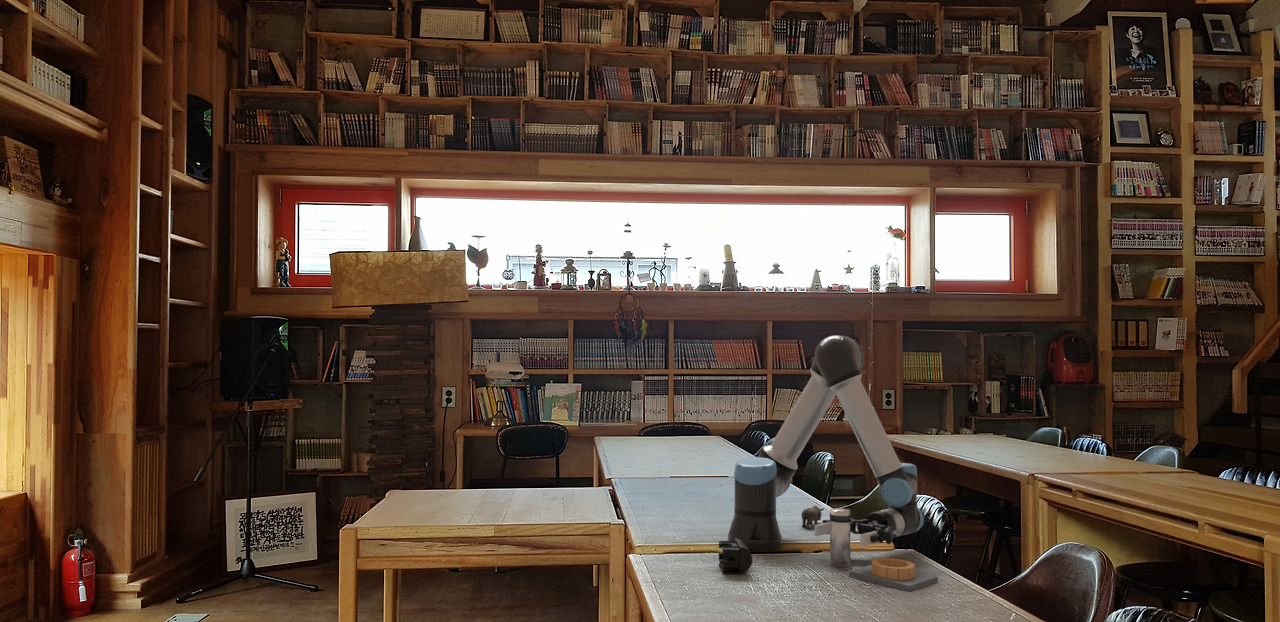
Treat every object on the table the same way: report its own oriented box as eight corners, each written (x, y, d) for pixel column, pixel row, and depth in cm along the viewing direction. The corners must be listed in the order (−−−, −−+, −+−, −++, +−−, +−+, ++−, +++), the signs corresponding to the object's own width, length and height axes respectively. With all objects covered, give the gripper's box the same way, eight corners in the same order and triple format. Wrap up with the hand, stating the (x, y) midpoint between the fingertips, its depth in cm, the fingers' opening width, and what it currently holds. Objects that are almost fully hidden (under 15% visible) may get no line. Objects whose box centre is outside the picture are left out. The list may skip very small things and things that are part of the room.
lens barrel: (825, 565, 205) (825, 509, 206) (837, 562, 208) (837, 507, 209) (842, 569, 201) (843, 512, 202) (854, 566, 204) (854, 510, 205)
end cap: (752, 575, 194) (752, 547, 195) (723, 575, 194) (723, 546, 195) (746, 565, 204) (746, 538, 205) (718, 564, 204) (718, 537, 205)
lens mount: (848, 576, 195) (848, 560, 195) (878, 567, 204) (878, 552, 204) (909, 591, 183) (909, 574, 183) (938, 581, 192) (938, 565, 192)
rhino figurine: (827, 522, 259) (828, 503, 259) (811, 529, 248) (811, 510, 248) (815, 521, 261) (815, 502, 262) (798, 528, 250) (798, 508, 250)
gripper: (926, 547, 208) (882, 560, 194) (844, 530, 227) (797, 541, 213) (926, 518, 209) (882, 528, 195) (844, 503, 227) (797, 512, 213)
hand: (837, 535), depth 204 cm, fingers open, 13 cm apart
